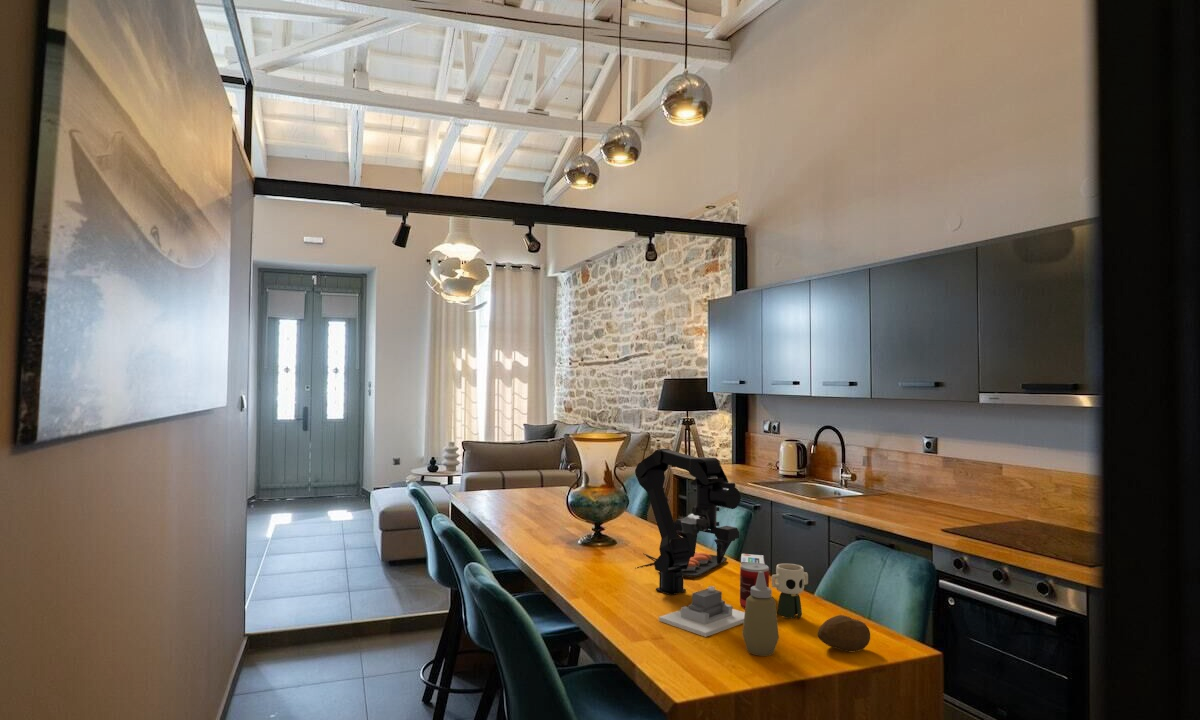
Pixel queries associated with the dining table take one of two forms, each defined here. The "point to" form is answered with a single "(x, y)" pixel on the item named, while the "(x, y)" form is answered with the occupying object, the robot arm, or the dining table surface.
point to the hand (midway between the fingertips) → (705, 560)
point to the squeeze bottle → (760, 620)
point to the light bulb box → (752, 558)
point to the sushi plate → (698, 564)
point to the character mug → (789, 588)
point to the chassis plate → (704, 620)
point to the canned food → (750, 579)
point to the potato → (844, 633)
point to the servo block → (707, 601)
